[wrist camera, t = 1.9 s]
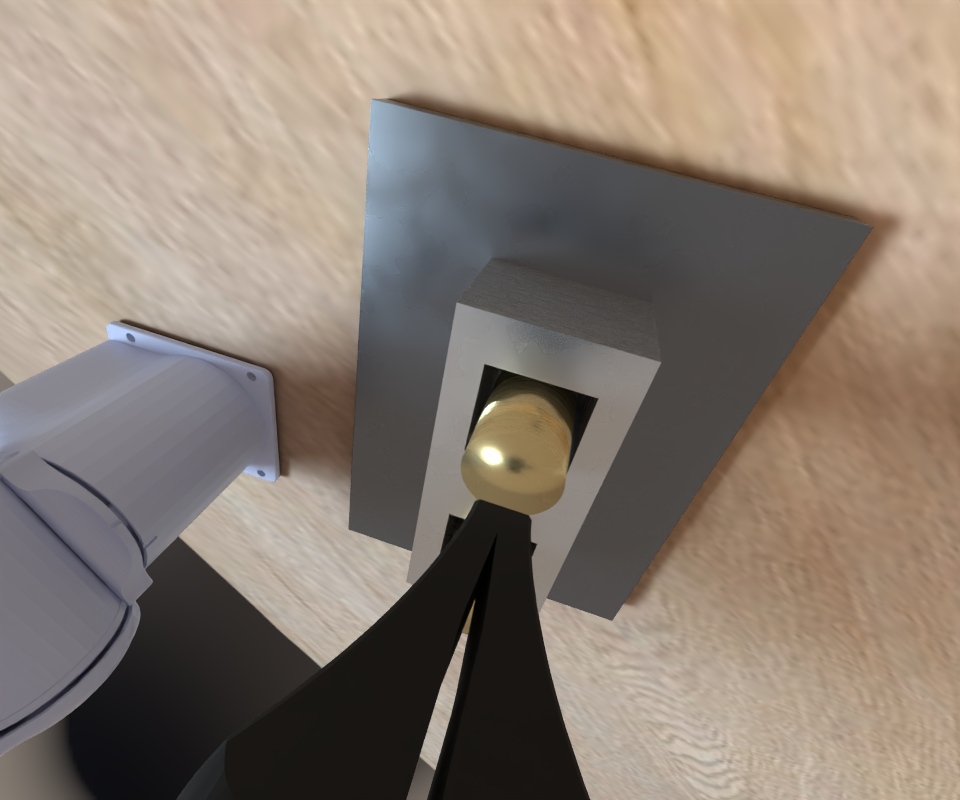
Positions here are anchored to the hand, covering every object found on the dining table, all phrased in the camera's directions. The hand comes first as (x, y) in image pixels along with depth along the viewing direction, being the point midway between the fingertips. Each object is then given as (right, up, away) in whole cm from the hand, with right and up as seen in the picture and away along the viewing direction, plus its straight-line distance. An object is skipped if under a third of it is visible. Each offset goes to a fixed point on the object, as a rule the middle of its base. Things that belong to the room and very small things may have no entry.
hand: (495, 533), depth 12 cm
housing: (+2, +2, +9) cm, 10 cm away
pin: (+2, +3, +5) cm, 6 cm away
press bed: (+2, +3, +10) cm, 11 cm away
